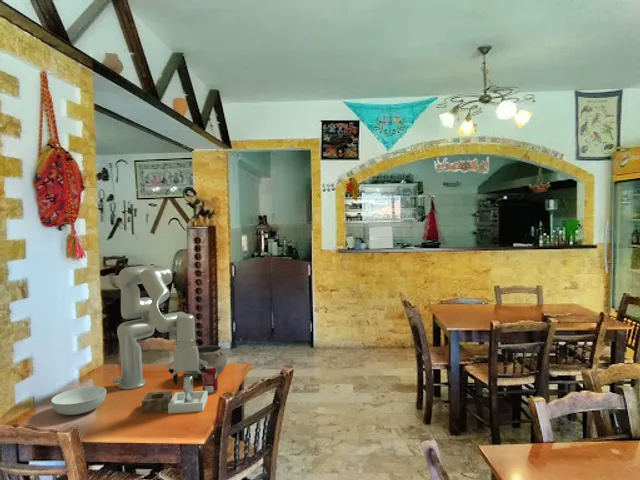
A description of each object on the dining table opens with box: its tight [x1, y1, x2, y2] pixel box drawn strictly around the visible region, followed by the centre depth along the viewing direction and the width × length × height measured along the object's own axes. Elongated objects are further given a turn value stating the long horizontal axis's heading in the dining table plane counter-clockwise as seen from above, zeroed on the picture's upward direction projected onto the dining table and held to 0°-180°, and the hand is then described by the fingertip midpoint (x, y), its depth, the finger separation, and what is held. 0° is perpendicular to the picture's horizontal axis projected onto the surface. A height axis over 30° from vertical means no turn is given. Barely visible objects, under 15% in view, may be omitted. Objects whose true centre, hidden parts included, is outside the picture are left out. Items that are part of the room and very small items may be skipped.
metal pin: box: [182, 371, 194, 403], centre depth 192 cm, size 4×4×13 cm
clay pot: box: [185, 345, 228, 379], centre depth 228 cm, size 21×21×15 cm
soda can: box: [202, 365, 219, 395], centre depth 208 cm, size 7×7×12 cm
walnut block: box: [141, 390, 173, 414], centre depth 191 cm, size 10×10×5 cm
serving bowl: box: [50, 386, 107, 416], centre depth 191 cm, size 21×21×7 cm
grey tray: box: [167, 390, 209, 414], centre depth 192 cm, size 14×14×4 cm
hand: (187, 383), depth 192 cm, fingers open, 9 cm apart
